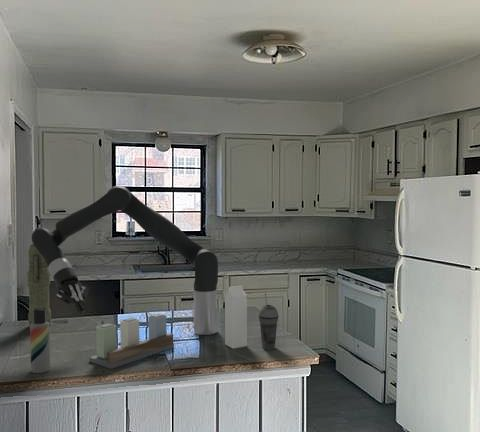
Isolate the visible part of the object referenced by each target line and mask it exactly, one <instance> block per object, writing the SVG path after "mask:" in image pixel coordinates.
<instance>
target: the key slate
mask: <svg viewBox="0 0 480 432" xmlns="http://www.w3.org/2000/svg"><path fill="white" fill-rule="evenodd" d="M167 328H168V326H167V315H166V314H163V313H155V314H152V315H150V316H148V339H149V340H150V339H153V338H157V337H160V336H163V335H167V330H168V329H167Z"/></svg>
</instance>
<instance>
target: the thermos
mask: <svg viewBox="0 0 480 432" xmlns="http://www.w3.org/2000/svg"><path fill="white" fill-rule="evenodd" d="M28 248H29V249H28V263H29V264H28V270H27V287H28V299H29V300H28V301H29V302H28V303H29V304H28V306H29V310H28V314H27V319H28V328H29V329H30V324H31V323H33V310H34V308H45V309H46V322H49V328H50V327H51V325H52V323H51V320H52V311H51V308H50V286H51V273H50V270H49V268H48V266H47V264H46V262H45V260H44V258H43V257H42V255H41V254H40V253H39V251H38V250H37V249H36V247H35V246H34V244H33V243H31V244H30V246H29V247H28Z"/></svg>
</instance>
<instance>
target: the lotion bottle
mask: <svg viewBox="0 0 480 432" xmlns="http://www.w3.org/2000/svg"><path fill="white" fill-rule="evenodd" d="M29 333H30V335H29V338H30V339H29V340H30V345H29V346H30V371H31V373H33V374H43V373H46V372H49V371H50V370H51V343H50V340H51V339H50V337H51V335H50V327H49V322H46V309H45V308H34V310H33V323H31V324H30V328H29Z"/></svg>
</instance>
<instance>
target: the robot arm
mask: <svg viewBox="0 0 480 432" xmlns="http://www.w3.org/2000/svg"><path fill="white" fill-rule="evenodd" d="M117 212H122V213H124V214H125V215H127V216H128V217H130V218H132V220H134V221H135V222H136V223H137V225H138V226H140V228H141V229H142V230H143V231H144V232H145V233H147V234H148V235H149V236H150V237H152V238H153V239H154V240H156V241H157V243H160V245H163V246H164V247H166V248H168V249H170V250H172V251H174V252H176V253H177V254H178V255H180V256H181V257H183V258H184V259H185V260H187V261H188V263H189V264H191V265H192V266H193V268H194V281H193V333H194V334H195V335H200V336H205V335H206V336H208V335H214V334H217V333H219V331H220V329H219V327H220V325H219V324H220V323H219V321H220V320H219V317H220V316H219V308H218V305H217V304H218V299H217V298H218V297H217V296H218V295H217V294H218V289H217V288H218V286H217V285H218V282H219V281H218V279H219V260H218V257H217V255H216V254H215V253H214V252H212V251H211V250H210V249H207V248H205V247H203V246H201V245H199V244H198V243H197V242H195V241H194V240H192V239H190V238H189V236H188V235H187V234H185V233H184V231H183V230H182V229H180V228H179V227H178V226H177V225H176V224H175V223H173V221H171V220H169V219H168V218H167V217H165V216H163V215H162V214H161V213H160V212H158V211H156V210H155V209H152V208H151V207H149V206H148V205H146V204H145V203H144V202H142V201H141V200H139V198H138V197H137V196H136V195H134V194H133V193H132V192H131V191H130V190H129V189H128V188H127V187H125V186H123V185H114V186H112V187H111V188H109V189H108V191H107V192H106V193H105V194H104V195H103V196H102V197H100V198H99V199H97V200H96V201H95V202H93V203H91V204H89V205H87V206H85V207H84V208H81V209H79V210H77V211H74V212H73V213H71V214H68V215H67V216H65V217H63V218H62V219H60V220H58V221H57V222H56V223H55V229H54V230H53V231H50V230H49V229H47V228H45V227H38V228H36V229H34V230H33V232H32V234H31V242H32V244H34V246H35V247H36V249H37V250H38V251H39V253H40V254H41V255H42V257H43V258H44V260H45V262H46V264H47V266H48V268H49V271H50V276H51V277H52V278H53V281H54V283H55V285H56V287H57V288H58V291H57V293H56V295H55V297H56V299H58V300H60V301H62V302H64V303H65V304H67V305H69V306H71V305H73V306H74V307H75V309H76V311H77V312H78V313H79V314H83V313H85V312H86V311H87V306H86V303H85V301H86V299H88V293H89V289H90V286H83V285H82V283H80V281H79V278H78V276H77V274H76V272H75V271H74V268H73V267H72V264H71V263H70V262H69V261H68V259H67V257H66V255H65V254H64V252H63V250H62V249H61V248H60V247H59V246H61V245H62V244H63V243H64V242H65V241H66V240H67V239H68V238H69V237H71V236H74V235H75V234H76V233H78V232H80V231H82V230H83V229H85V228H86V227H88V226H89V225H92V224H93V223H95V222H96V221H98V220H100V219H101V218H104V217H106V216H108V215H110V214H114V213H117Z"/></svg>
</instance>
